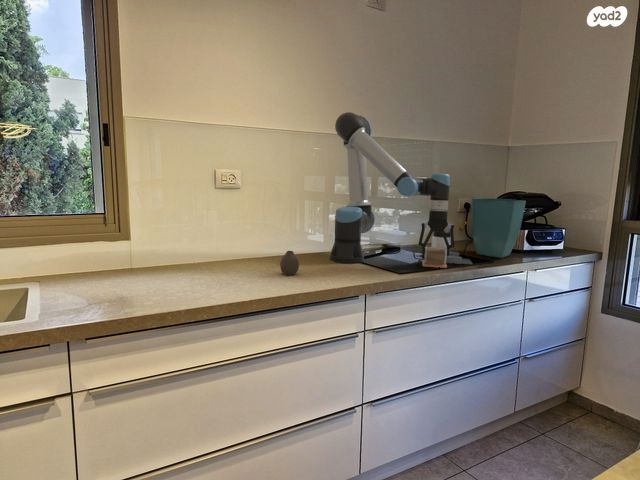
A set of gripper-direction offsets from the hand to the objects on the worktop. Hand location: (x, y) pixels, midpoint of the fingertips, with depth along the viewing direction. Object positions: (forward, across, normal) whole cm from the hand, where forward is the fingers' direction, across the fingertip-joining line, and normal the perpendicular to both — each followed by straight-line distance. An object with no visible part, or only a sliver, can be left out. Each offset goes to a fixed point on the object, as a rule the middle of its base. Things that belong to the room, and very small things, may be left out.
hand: (435, 262), depth 181 cm
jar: (+1, +4, +26) cm, 26 cm away
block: (0, 0, +1) cm, 1 cm away
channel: (+1, +4, +12) cm, 13 cm away
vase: (+1, -54, -40) cm, 67 cm away
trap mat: (+1, +14, +13) cm, 19 cm away
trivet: (+1, 0, 0) cm, 1 cm away
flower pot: (+2, +31, +38) cm, 49 cm away
